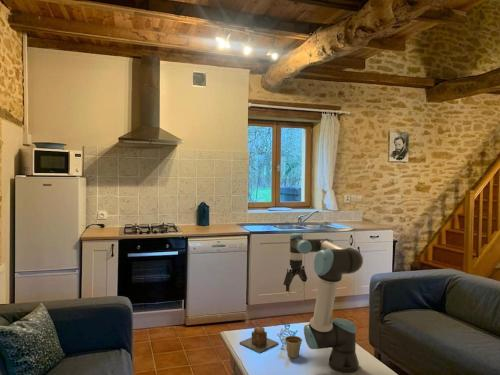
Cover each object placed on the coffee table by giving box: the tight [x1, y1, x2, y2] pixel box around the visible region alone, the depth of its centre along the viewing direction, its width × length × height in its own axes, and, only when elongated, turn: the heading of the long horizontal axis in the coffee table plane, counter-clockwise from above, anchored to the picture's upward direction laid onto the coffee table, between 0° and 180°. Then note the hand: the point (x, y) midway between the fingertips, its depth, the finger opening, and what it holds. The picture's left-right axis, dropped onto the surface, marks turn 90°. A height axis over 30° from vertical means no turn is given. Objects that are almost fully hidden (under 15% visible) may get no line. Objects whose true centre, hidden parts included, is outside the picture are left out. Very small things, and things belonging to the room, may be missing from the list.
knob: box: [251, 326, 268, 346], centre depth 213 cm, size 6×6×8 cm
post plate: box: [239, 336, 280, 354], centre depth 213 cm, size 16×16×6 cm
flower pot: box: [284, 335, 303, 358], centre depth 200 cm, size 9×9×9 cm
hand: (295, 294), depth 222 cm, fingers open, 13 cm apart
